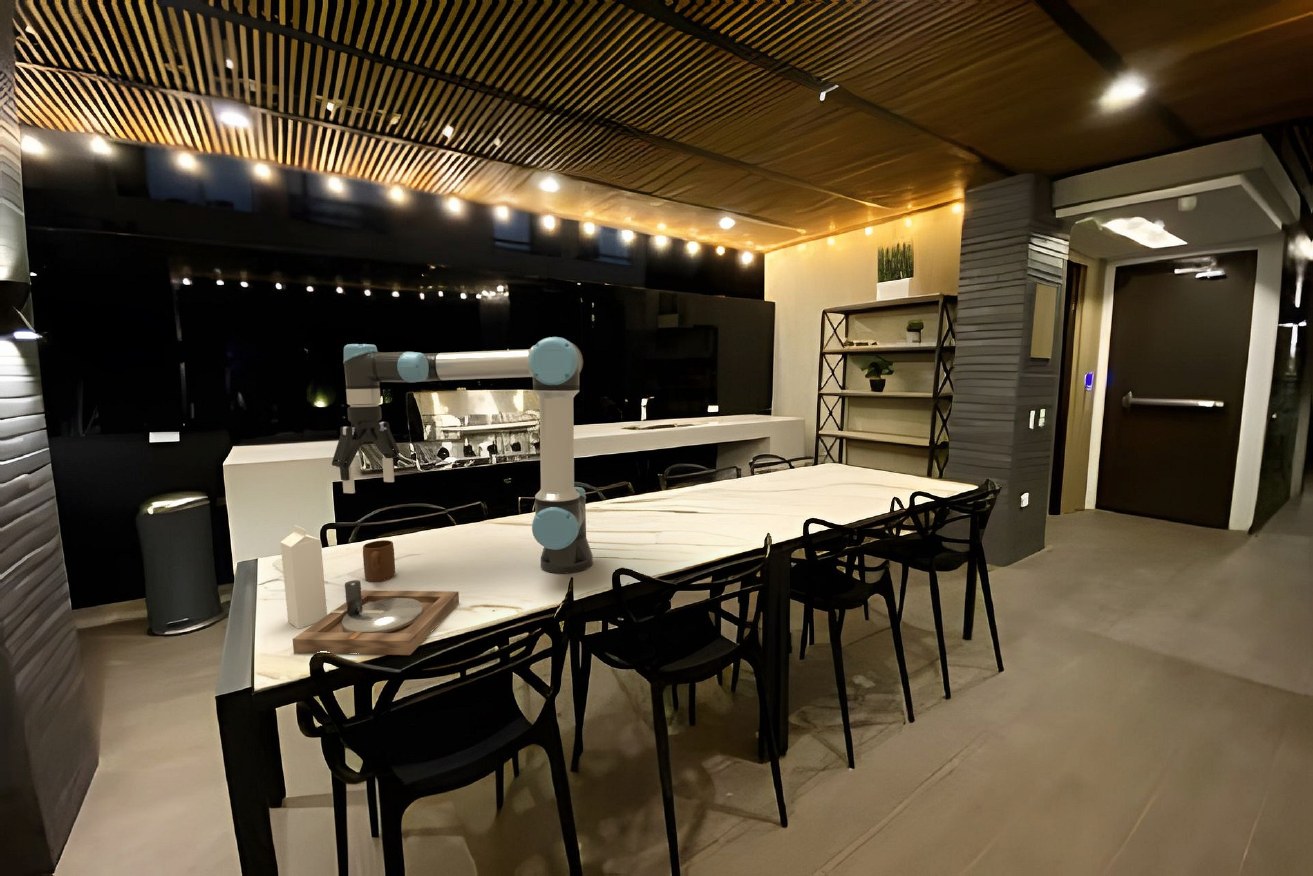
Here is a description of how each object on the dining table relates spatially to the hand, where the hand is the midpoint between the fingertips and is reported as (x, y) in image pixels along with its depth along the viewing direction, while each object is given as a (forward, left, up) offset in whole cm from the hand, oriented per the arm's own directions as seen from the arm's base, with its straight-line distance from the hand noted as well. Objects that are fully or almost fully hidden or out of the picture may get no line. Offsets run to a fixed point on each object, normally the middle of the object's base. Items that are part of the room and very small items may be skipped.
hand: (370, 487), depth 138 cm
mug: (+1, -3, -27) cm, 27 cm away
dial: (-14, +22, -25) cm, 37 cm away
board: (-15, +23, -27) cm, 38 cm away
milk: (+4, +21, -27) cm, 34 cm away
